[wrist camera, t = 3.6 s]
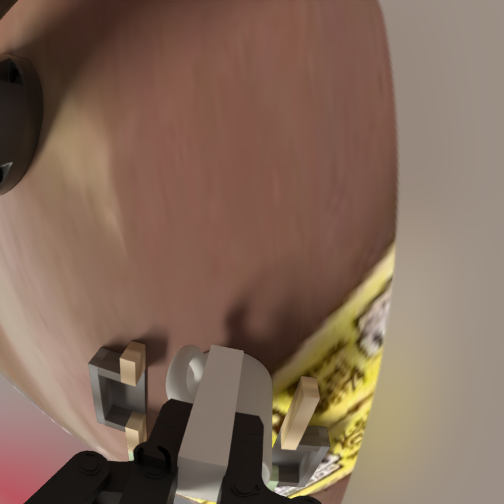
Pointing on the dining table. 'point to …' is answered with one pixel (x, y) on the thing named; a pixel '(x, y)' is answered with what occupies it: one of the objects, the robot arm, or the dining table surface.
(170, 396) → the mug
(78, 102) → the dining table surface
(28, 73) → the robot arm
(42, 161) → the dining table surface
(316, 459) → the grey-green u-shaped bracket
